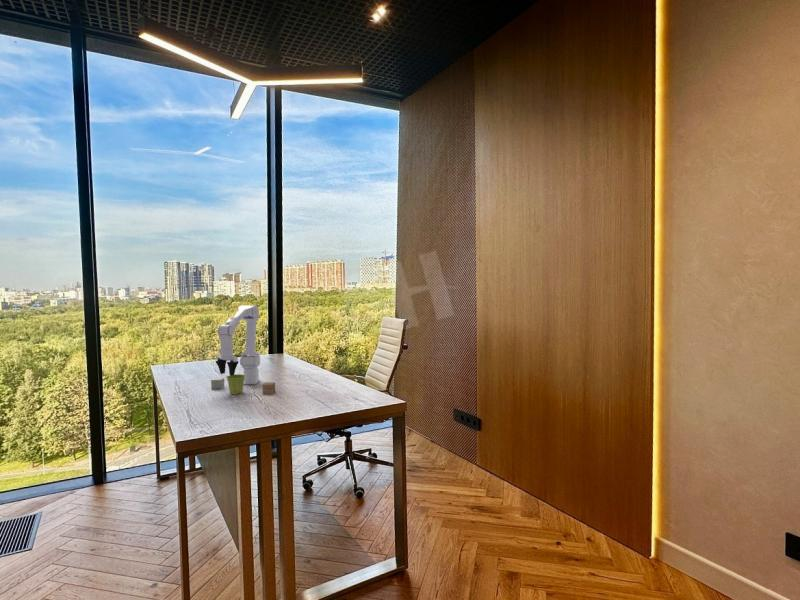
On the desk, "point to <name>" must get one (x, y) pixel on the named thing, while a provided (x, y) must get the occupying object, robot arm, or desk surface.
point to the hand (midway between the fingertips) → (227, 374)
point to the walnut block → (269, 387)
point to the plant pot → (236, 383)
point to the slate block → (217, 383)
